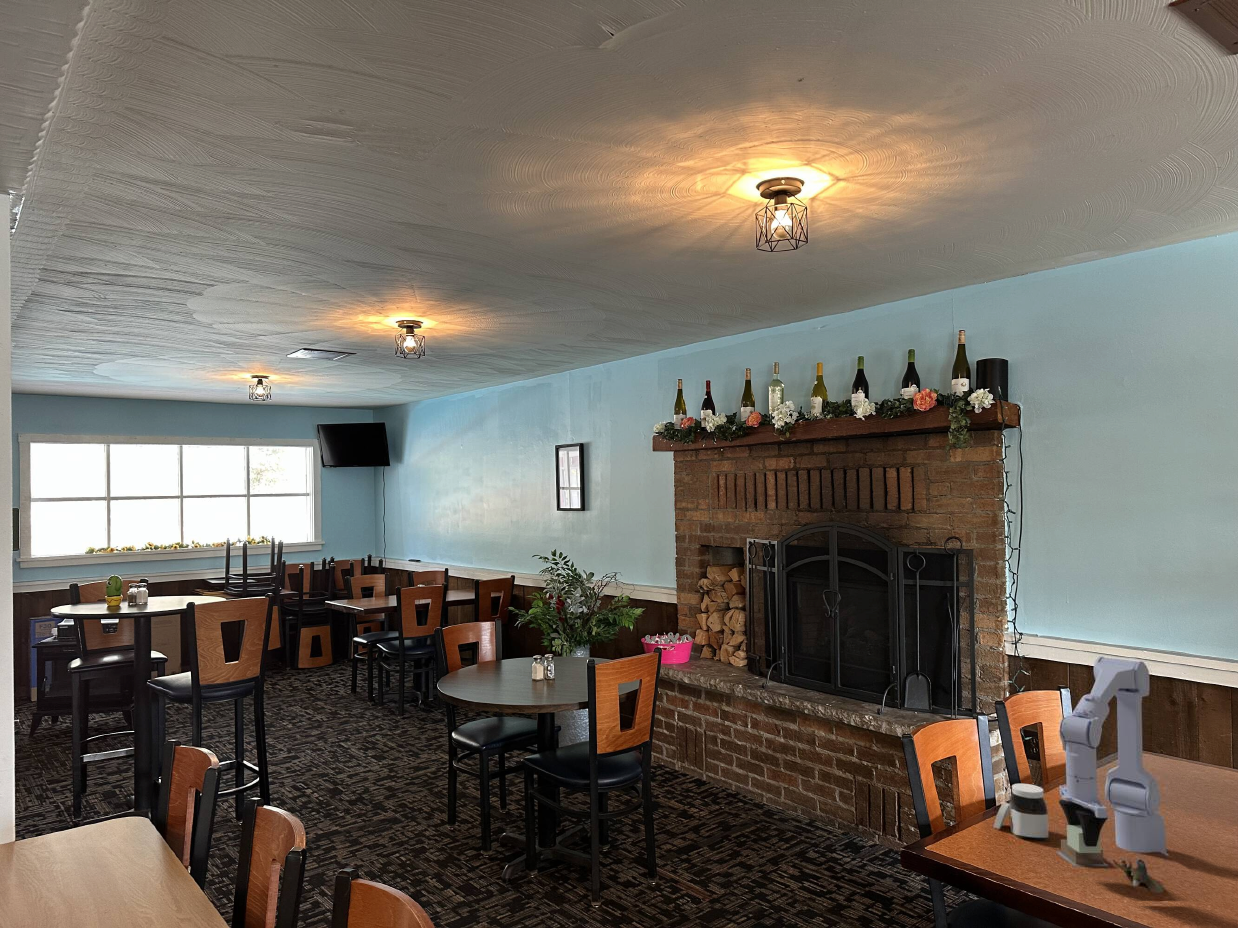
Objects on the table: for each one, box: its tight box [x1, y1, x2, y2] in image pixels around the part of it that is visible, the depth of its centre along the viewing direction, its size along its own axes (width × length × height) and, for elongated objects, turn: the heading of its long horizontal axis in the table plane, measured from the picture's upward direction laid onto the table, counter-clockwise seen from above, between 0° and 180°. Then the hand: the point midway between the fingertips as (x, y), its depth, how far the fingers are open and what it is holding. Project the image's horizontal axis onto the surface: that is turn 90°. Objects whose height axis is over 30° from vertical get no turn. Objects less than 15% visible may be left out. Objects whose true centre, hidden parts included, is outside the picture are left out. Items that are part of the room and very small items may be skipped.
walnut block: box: [1060, 838, 1104, 864], centre depth 183 cm, size 6×6×3 cm
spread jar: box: [993, 783, 1049, 842], centre depth 199 cm, size 12×11×12 cm
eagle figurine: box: [1112, 857, 1166, 901], centre depth 169 cm, size 8×7×9 cm
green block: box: [1066, 824, 1102, 853], centre depth 173 cm, size 4×4×4 cm
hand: (1083, 841), depth 173 cm, fingers closed on green block, 4 cm apart
